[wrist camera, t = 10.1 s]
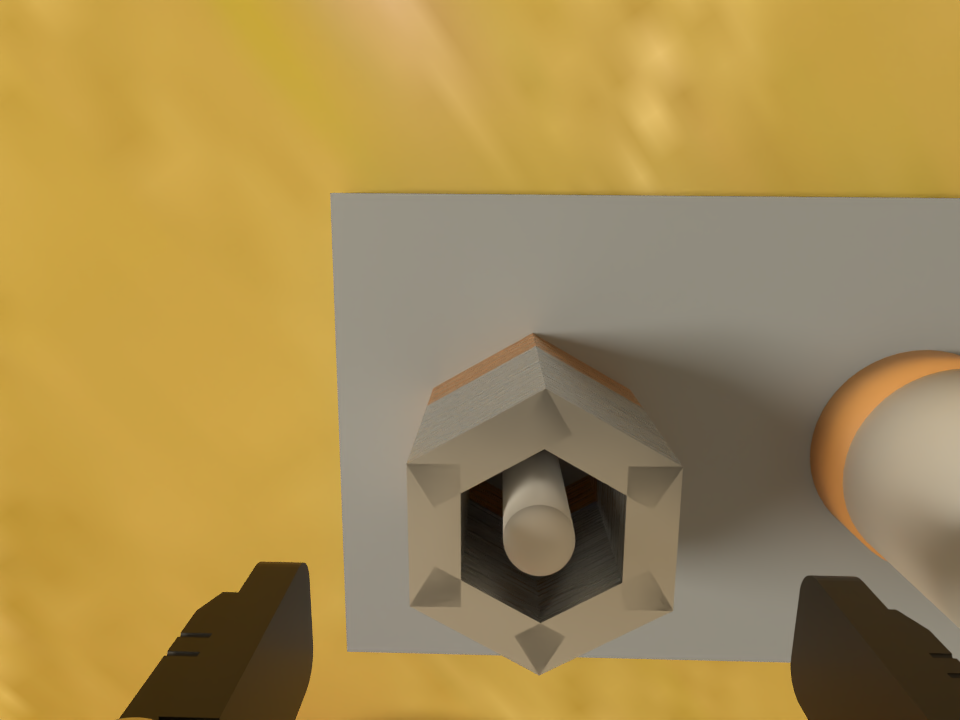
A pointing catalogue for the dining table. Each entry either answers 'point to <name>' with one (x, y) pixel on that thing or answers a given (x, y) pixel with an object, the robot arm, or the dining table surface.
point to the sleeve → (592, 500)
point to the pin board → (672, 393)
